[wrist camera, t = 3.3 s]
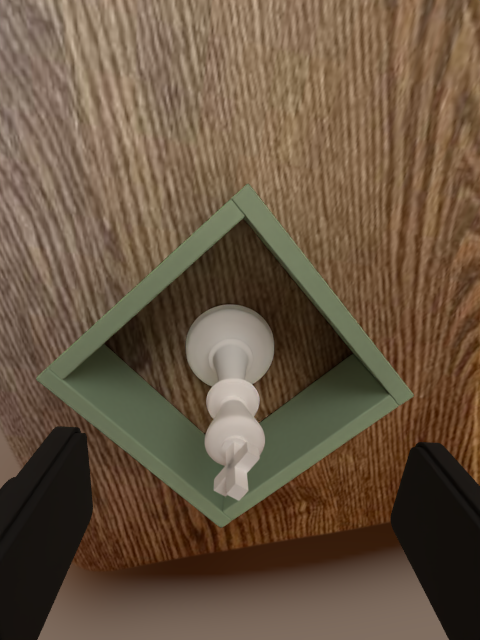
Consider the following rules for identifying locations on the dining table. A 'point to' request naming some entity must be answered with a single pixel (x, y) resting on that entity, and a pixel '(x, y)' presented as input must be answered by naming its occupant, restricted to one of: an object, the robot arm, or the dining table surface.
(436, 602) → the robot arm
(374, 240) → the dining table surface
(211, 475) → the square frame
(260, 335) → the chess piece
